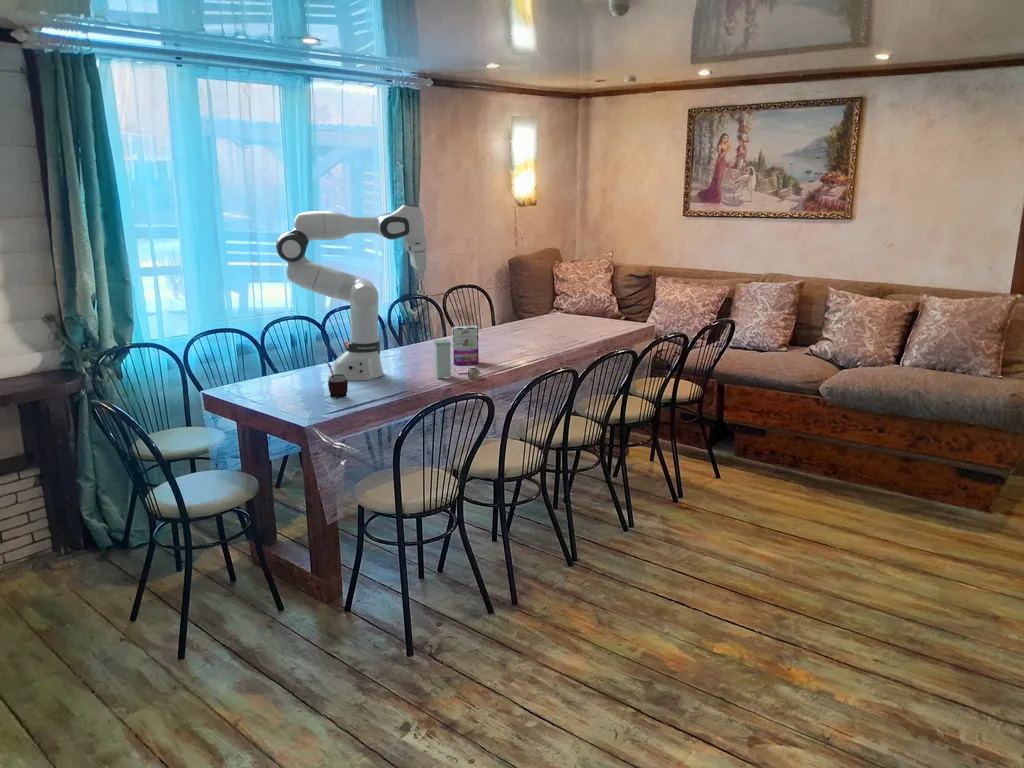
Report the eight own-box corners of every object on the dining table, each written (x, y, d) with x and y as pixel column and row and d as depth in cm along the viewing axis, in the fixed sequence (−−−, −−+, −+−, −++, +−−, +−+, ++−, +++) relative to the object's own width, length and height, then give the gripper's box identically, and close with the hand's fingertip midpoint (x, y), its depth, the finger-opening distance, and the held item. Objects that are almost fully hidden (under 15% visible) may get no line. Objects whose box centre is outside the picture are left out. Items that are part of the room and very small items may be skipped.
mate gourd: (349, 394, 288) (347, 355, 284) (346, 400, 280) (344, 360, 276) (329, 394, 287) (327, 355, 283) (325, 400, 280) (323, 360, 276)
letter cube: (469, 379, 310) (469, 369, 309) (467, 377, 314) (467, 367, 313) (479, 379, 311) (479, 369, 310) (477, 376, 315) (477, 367, 314)
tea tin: (437, 379, 310) (436, 343, 306) (434, 375, 315) (434, 340, 311) (451, 378, 311) (450, 342, 307) (448, 375, 317) (448, 339, 313)
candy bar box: (477, 361, 341) (477, 325, 336) (478, 364, 336) (478, 327, 332) (452, 362, 339) (451, 325, 334) (453, 365, 334) (453, 328, 330)
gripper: (404, 243, 317) (408, 277, 321) (411, 248, 298) (415, 283, 301) (419, 242, 318) (423, 275, 322) (427, 246, 299) (431, 281, 303)
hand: (420, 279), depth 312 cm, fingers open, 8 cm apart
